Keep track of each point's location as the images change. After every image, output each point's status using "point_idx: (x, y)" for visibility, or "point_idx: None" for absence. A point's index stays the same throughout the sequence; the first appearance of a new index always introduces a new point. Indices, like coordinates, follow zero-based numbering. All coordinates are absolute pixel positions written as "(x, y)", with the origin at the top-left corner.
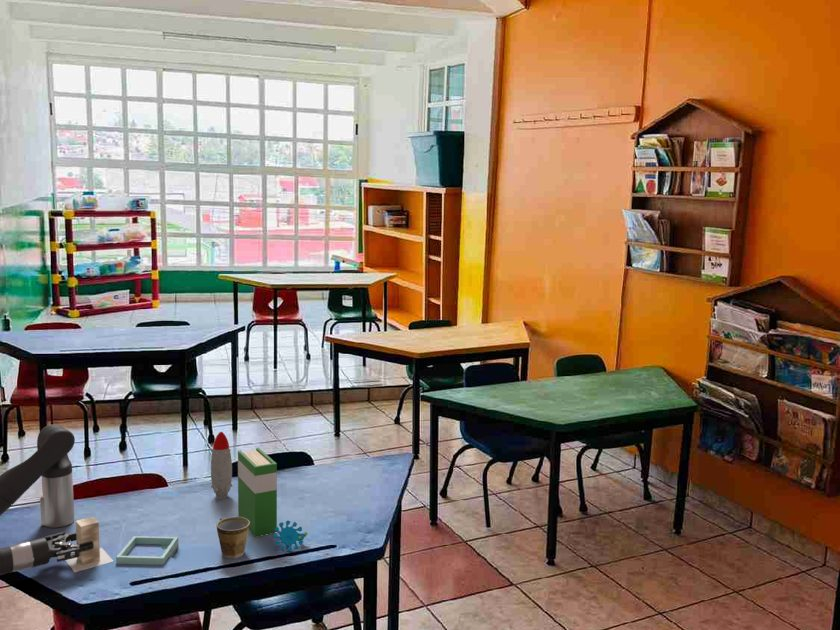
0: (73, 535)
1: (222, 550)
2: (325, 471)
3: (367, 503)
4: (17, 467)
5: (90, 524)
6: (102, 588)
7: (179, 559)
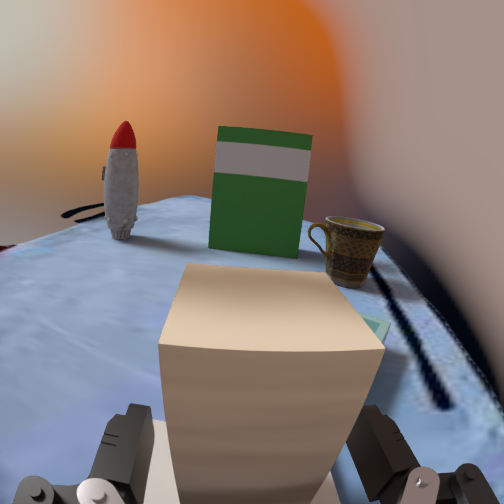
0: (135, 474)
1: (353, 277)
2: (164, 206)
3: None
4: None
5: (347, 300)
6: None
7: None
